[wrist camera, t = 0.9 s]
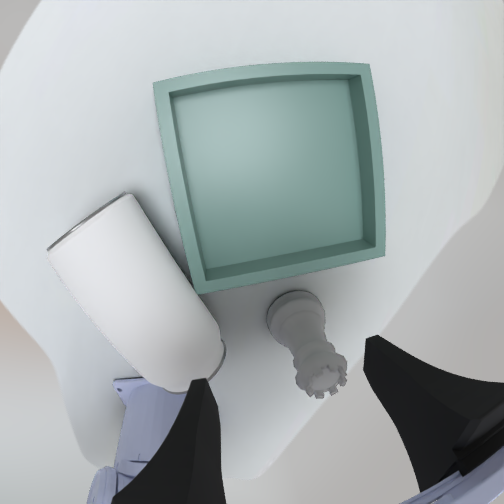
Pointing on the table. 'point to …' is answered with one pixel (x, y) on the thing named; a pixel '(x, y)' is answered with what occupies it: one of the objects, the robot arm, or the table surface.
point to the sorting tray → (273, 170)
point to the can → (138, 296)
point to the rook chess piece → (307, 342)
